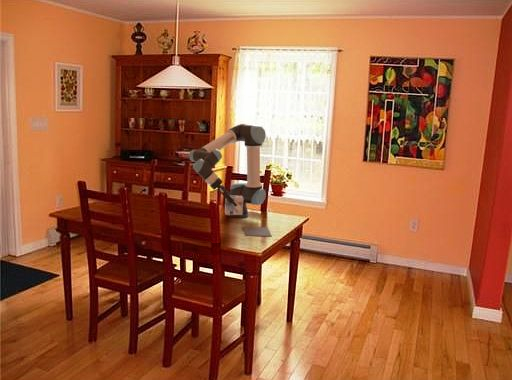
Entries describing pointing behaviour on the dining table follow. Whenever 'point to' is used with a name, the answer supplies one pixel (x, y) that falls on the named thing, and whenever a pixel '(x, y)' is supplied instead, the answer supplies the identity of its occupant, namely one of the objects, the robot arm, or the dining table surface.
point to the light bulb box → (230, 208)
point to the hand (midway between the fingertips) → (239, 208)
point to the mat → (256, 231)
